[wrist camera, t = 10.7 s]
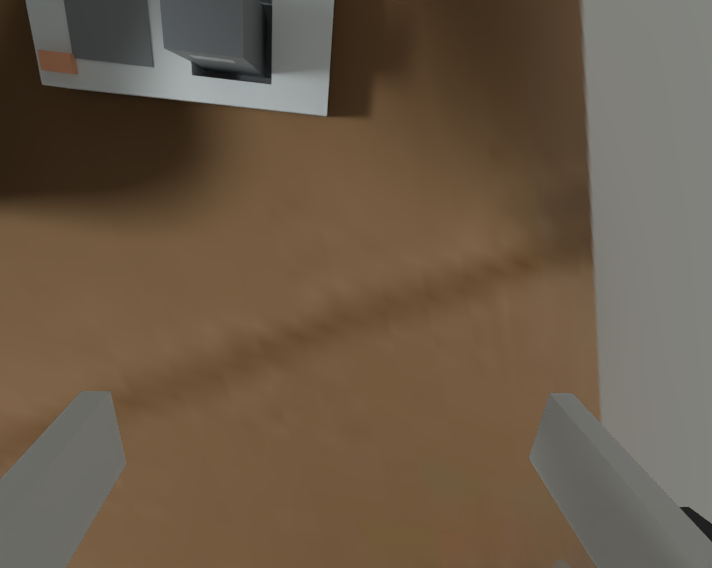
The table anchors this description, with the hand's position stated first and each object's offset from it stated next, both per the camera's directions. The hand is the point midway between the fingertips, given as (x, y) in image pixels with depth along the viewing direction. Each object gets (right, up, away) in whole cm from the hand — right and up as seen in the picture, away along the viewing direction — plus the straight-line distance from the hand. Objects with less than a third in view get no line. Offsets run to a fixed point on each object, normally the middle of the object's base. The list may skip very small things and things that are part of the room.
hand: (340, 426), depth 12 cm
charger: (-9, +23, +17) cm, 30 cm away
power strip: (-12, +23, +18) cm, 31 cm away
